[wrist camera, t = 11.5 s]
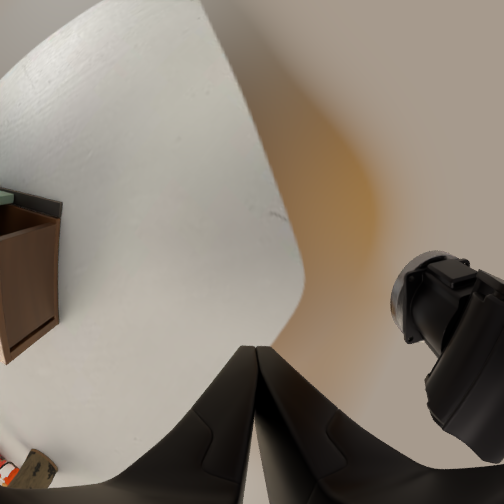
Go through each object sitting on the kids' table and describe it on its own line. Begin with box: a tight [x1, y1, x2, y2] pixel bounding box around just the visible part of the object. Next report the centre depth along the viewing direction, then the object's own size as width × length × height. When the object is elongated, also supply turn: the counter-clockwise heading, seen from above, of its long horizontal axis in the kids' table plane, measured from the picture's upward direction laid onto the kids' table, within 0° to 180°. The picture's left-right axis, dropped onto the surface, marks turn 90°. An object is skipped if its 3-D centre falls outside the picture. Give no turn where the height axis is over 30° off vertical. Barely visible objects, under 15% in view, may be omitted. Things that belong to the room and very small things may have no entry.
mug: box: [0, 449, 58, 489], centre depth 25 cm, size 8×6×12 cm
